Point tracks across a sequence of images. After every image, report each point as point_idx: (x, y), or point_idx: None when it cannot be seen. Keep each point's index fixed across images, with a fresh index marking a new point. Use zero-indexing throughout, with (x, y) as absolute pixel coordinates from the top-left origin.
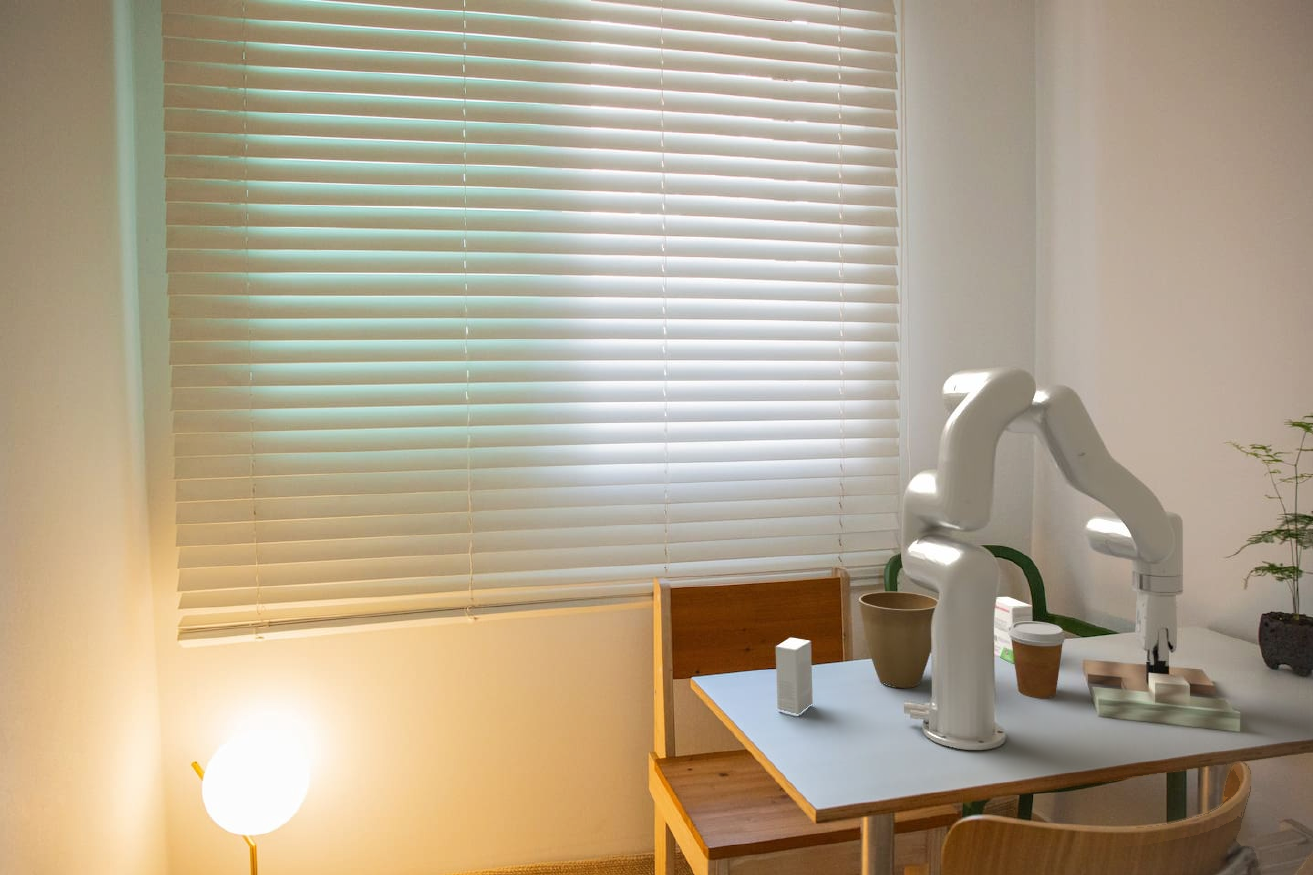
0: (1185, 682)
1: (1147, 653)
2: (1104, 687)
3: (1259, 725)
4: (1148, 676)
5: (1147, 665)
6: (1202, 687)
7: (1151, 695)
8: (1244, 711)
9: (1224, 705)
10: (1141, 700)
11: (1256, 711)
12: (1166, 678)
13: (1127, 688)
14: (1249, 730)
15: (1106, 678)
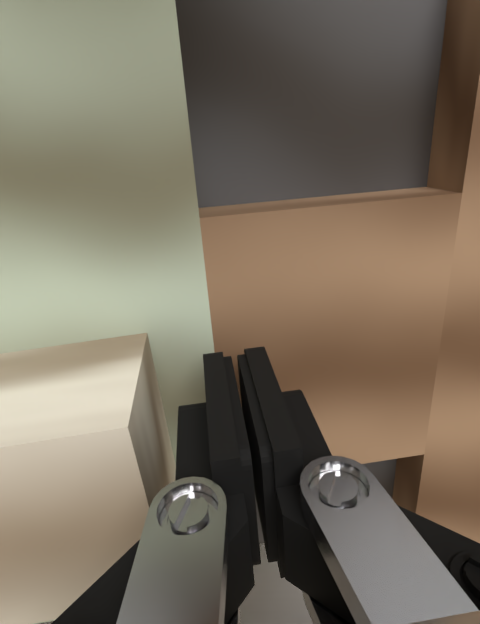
0: (7, 618)
1: (350, 524)
2: (378, 79)
3: None
4: (205, 390)
5: (231, 443)
6: None
7: (49, 360)
8: (258, 580)
9: None
10: (19, 293)
11: (272, 602)
12: (33, 532)
13: (234, 220)
14: None
15: (464, 92)
